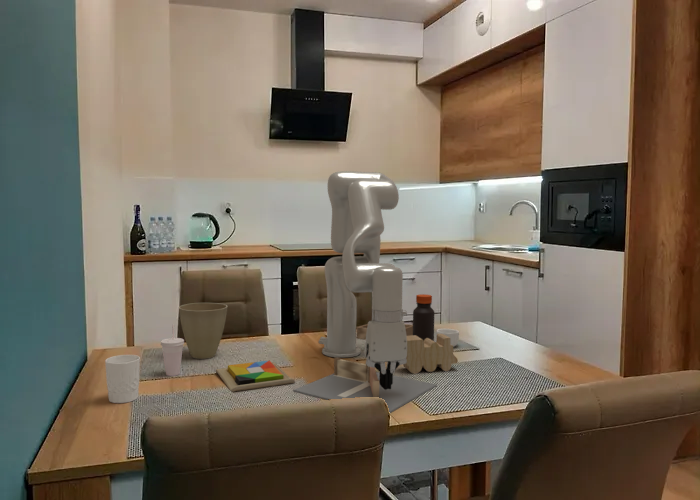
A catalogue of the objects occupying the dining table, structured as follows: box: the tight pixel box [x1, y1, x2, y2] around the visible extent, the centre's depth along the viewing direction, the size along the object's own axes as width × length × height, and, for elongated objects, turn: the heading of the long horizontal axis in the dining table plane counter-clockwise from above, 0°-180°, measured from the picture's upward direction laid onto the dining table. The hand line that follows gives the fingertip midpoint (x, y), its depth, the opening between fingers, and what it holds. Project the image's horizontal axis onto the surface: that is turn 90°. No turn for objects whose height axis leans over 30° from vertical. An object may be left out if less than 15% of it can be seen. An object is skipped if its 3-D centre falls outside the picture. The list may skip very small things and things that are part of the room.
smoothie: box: [160, 324, 185, 377], centre depth 156 cm, size 6×6×14 cm
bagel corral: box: [356, 323, 413, 341], centre depth 204 cm, size 16×16×4 cm
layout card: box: [293, 371, 438, 414], centre depth 146 cm, size 28×26×1 cm
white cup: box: [104, 354, 141, 404], centre depth 136 cm, size 8×8×10 cm
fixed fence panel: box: [333, 357, 370, 383], centre depth 153 cm, size 13×2×5 cm, turn 55°
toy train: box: [402, 334, 459, 375], centre depth 163 cm, size 6×17×10 cm, turn 104°
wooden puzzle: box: [215, 359, 296, 393], centre depth 154 cm, size 17×19×4 cm
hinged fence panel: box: [370, 367, 379, 397], centre depth 142 cm, size 13×2×4 cm, turn 2°
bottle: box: [412, 293, 435, 342], centre depth 176 cm, size 7×7×20 cm
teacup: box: [435, 328, 460, 348], centre depth 193 cm, size 10×8×5 cm
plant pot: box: [178, 302, 228, 360], centre depth 176 cm, size 15×15×16 cm
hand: (385, 387), depth 140 cm, fingers closed
